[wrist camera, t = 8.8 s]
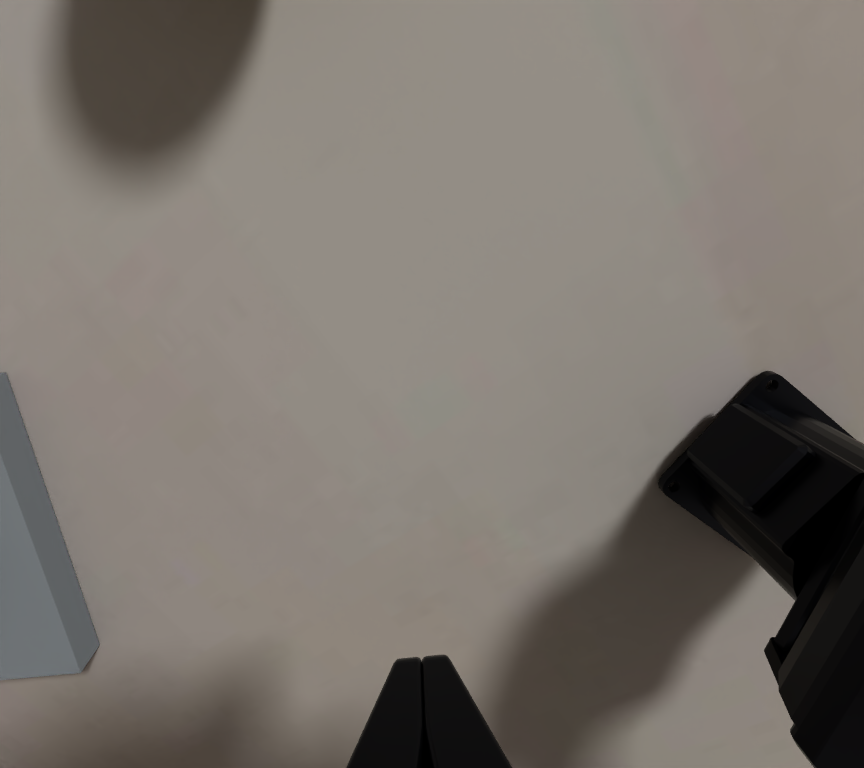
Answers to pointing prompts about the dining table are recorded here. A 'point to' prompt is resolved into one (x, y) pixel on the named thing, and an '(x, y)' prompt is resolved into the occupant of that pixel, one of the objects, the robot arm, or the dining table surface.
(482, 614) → the dining table surface
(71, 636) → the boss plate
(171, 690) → the dining table surface
